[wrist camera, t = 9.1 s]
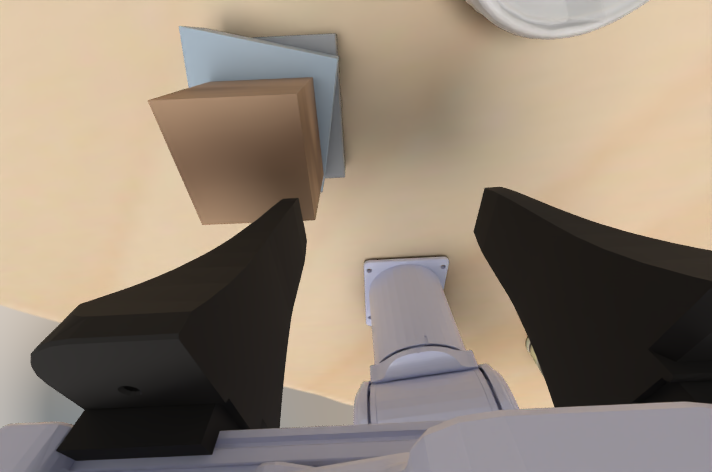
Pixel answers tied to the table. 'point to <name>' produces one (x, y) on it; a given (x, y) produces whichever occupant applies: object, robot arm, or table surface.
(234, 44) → the tower top
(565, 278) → the robot arm
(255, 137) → the walnut cube
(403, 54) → the table surface
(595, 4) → the ramekin
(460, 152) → the table surface
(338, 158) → the tower base
